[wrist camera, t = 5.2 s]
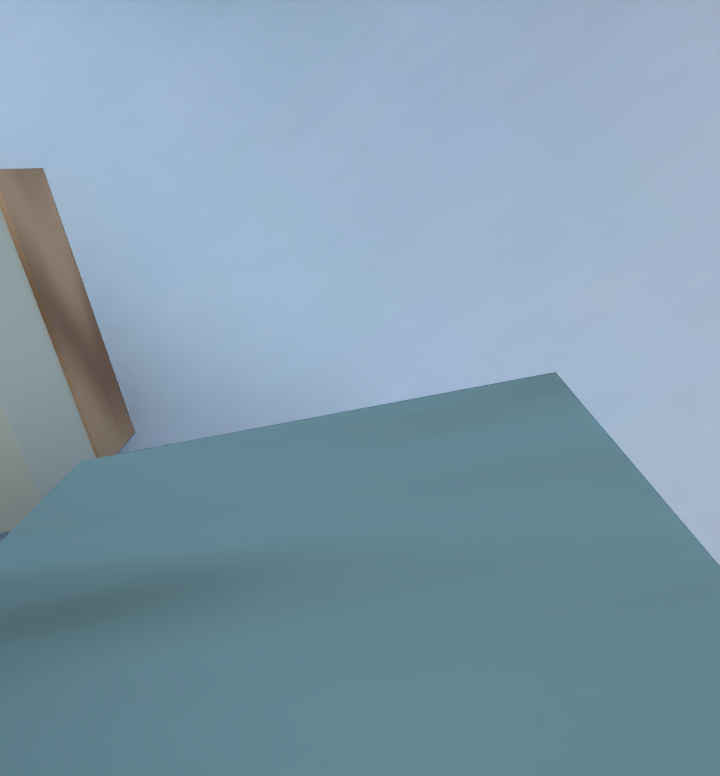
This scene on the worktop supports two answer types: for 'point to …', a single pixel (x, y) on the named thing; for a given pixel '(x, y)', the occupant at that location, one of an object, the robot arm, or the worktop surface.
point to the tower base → (64, 306)
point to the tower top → (31, 398)
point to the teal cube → (364, 603)
